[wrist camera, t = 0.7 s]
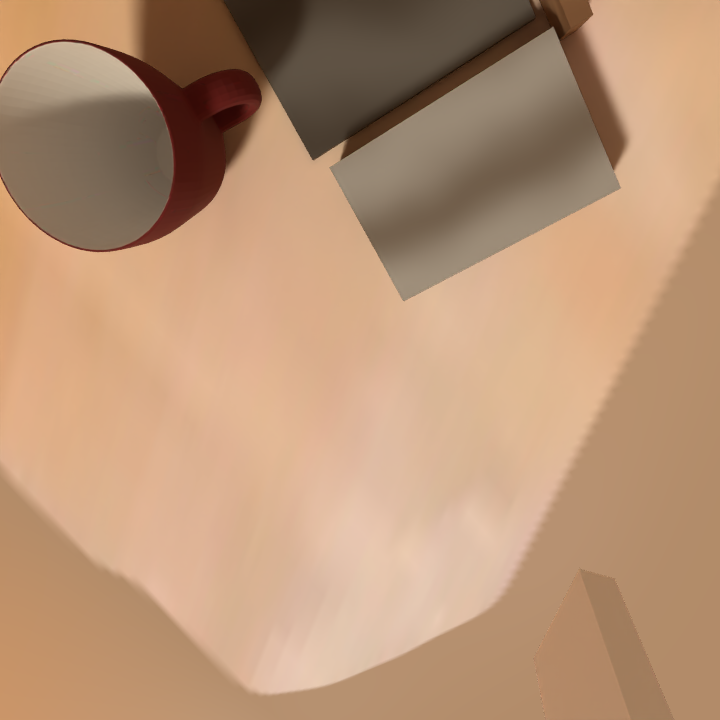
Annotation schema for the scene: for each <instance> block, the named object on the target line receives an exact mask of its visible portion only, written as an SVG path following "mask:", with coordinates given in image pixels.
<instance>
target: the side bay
mask: <svg viewBox="0 0 720 720" xmlns="http://www.w3.org/2000/svg"><path fill="white" fill-rule="evenodd" d="M224 2H225V4H226V5H227V7H228V9H229V11H230V13H231V14H232V16H233V18H234V20H235V22H236V23H237V25H238V27H239V29H240V31H241V32H242V34H243V36H244V38H245V40H246V41H247V43H248V45H249V47H250V48H251V50H252V52H253V54H254V56H255V57H256V59H257V61H258V63H259V65H260V66H261V68H262V70H263V72H264V74H265V75H266V77H267V79H268V81H269V83H270V84H271V86H272V88H273V90H274V91H275V93H276V95H277V97H278V99H279V100H280V102H281V104H282V106H283V108H284V109H285V111H286V113H287V115H288V117H289V118H290V120H291V122H292V124H293V126H294V127H295V129H296V131H297V133H298V135H299V136H300V138H301V140H302V142H303V143H304V145H305V147H306V149H307V151H308V152H309V154H310V156H311V158H312V160H315V159H316V158H318V157H320V156H321V155H323V154H324V153H326V152H327V151H329V150H330V149H332V148H334V147H335V146H337V145H338V144H340V143H341V142H343V141H345V140H346V139H348V138H349V137H351V136H352V135H354V134H355V133H357V132H359V131H360V130H362V129H363V128H365V127H366V126H368V125H370V124H371V123H373V122H374V121H376V120H377V119H379V118H380V117H382V116H384V115H385V114H387V113H388V112H390V111H391V110H393V109H395V108H396V107H398V106H399V105H401V104H402V103H404V102H405V101H407V100H409V99H410V98H412V97H413V96H415V95H416V94H418V93H420V92H421V91H423V90H424V89H426V88H427V87H429V86H430V85H432V84H434V83H435V82H437V81H438V80H440V79H441V78H443V77H445V76H446V75H448V74H449V73H451V72H452V71H454V70H455V69H457V68H459V67H460V66H462V65H463V64H465V63H466V62H468V61H470V60H471V59H473V58H474V57H476V56H477V55H479V54H480V53H482V52H484V51H485V50H487V49H488V48H490V47H491V46H493V45H495V44H496V43H498V42H499V41H501V40H502V39H504V38H505V37H507V36H509V35H510V34H512V33H513V32H515V31H516V30H518V29H519V28H521V27H523V26H524V25H526V24H527V23H529V22H530V21H532V20H534V19H535V18H536V16H535V14H534V11H533V9H532V7H531V4H530V2H529V0H224ZM540 2H541V5H542V7H543V10H544V12H545V14H546V17H547V19H548V21H549V24H550V26H551V28H550V29H549V30H547V31H546V32H544V33H542V34H541V35H539V36H538V37H536V38H534V39H533V40H531V41H530V42H528V43H527V44H525V45H523V46H522V47H520V48H519V49H517V50H515V51H514V52H512V53H511V54H509V55H507V56H506V57H504V58H503V59H501V60H500V61H498V62H496V63H495V64H493V65H492V66H490V67H488V68H487V69H485V70H484V71H482V72H480V73H479V74H477V75H476V76H474V77H473V78H471V79H469V80H468V81H466V82H465V83H463V84H461V85H460V86H458V87H457V88H455V89H453V90H452V91H450V92H449V93H447V94H445V95H444V96H442V97H441V98H439V99H438V100H436V101H434V102H433V103H431V104H430V105H428V106H426V107H425V108H423V109H422V110H420V111H418V112H417V113H415V114H414V115H412V116H411V117H409V118H407V119H406V120H404V121H403V122H401V123H399V124H398V125H396V126H395V127H393V128H391V129H390V130H388V131H387V132H385V133H384V134H382V135H380V136H379V137H377V138H376V139H374V140H372V141H371V142H369V143H368V144H366V145H364V146H363V147H361V148H360V149H358V150H357V151H355V152H353V153H352V154H350V155H349V156H347V157H345V158H344V159H342V160H341V161H339V162H337V163H336V164H334V165H333V166H331V167H330V169H331V171H332V173H333V175H334V176H335V178H336V180H337V182H338V184H339V186H340V187H341V189H342V191H343V193H344V195H345V196H346V198H347V200H348V202H349V204H350V205H351V207H352V209H353V211H354V213H355V214H356V216H357V218H358V220H359V222H360V224H361V225H362V227H363V229H364V231H365V233H366V234H367V236H368V238H369V240H370V242H371V243H372V245H373V247H374V249H375V251H376V253H377V254H378V256H379V258H380V260H381V262H382V263H383V265H384V267H385V269H386V271H387V272H388V274H389V276H390V278H391V280H392V282H393V283H394V285H395V287H396V289H397V291H398V292H399V294H400V296H401V298H402V300H403V301H405V300H407V299H409V298H411V297H413V296H415V295H417V294H419V293H421V292H423V291H424V290H426V289H428V288H430V287H432V286H434V285H436V284H438V283H440V282H442V281H444V280H446V279H448V278H449V277H451V276H453V275H455V274H457V273H459V272H461V271H463V270H465V269H467V268H469V267H471V266H473V265H474V264H476V263H478V262H480V261H482V260H484V259H486V258H488V257H490V256H492V255H494V254H496V253H497V252H499V251H501V250H503V249H505V248H507V247H509V246H511V245H513V244H515V243H517V242H519V241H521V240H522V239H524V238H526V237H528V236H530V235H532V234H534V233H536V232H538V231H540V230H542V229H544V228H545V227H547V226H549V225H551V224H553V223H555V222H557V221H559V220H561V219H563V218H565V217H567V216H569V215H570V214H572V213H574V212H576V211H578V210H580V209H582V208H584V207H586V206H588V205H590V204H592V203H593V202H595V201H597V200H599V199H601V198H603V197H605V196H607V195H609V194H611V193H613V192H615V191H617V190H618V189H620V188H621V187H620V185H619V182H618V180H617V178H616V175H615V173H614V171H613V168H612V166H611V163H610V161H609V159H608V156H607V154H606V151H605V149H604V147H603V144H602V142H601V139H600V137H599V135H598V132H597V130H596V127H595V125H594V123H593V120H592V118H591V116H590V113H589V111H588V108H587V106H586V104H585V101H584V99H583V96H582V94H581V92H580V89H579V87H578V84H577V82H576V80H575V77H574V75H573V72H572V70H571V68H570V65H569V63H568V61H567V58H566V56H565V53H564V51H563V49H562V46H561V44H560V40H562V39H564V38H565V37H567V36H568V35H570V34H572V33H573V32H575V31H576V30H578V29H579V28H580V27H581V26H582V25H583V24H584V23H585V22H586V21H587V20H588V19H589V18H590V17H591V16H592V15H593V13H592V10H591V8H590V5H589V3H588V0H540Z"/></svg>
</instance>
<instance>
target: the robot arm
mask: <svg viewBox="0 0 720 720" xmlns="http://www.w3.org/2000/svg"><path fill="white" fill-rule="evenodd" d="M534 663H535V668H536V673H537V678H538V684H539V689H540V694H541V699H542V704H543V709H544V714H545V720H674V719H673V716H672V714H671V712H670V709H669V707H668V704H667V702H666V700H665V697H664V695H663V692H662V690H661V688H660V685H659V683H658V681H657V678H656V676H655V673H654V671H653V669H652V666H651V664H650V661H649V659H648V657H647V655H646V652H645V650H644V647H643V645H642V642H641V640H640V638H639V635H638V633H637V631H636V628H635V626H634V624H633V621H632V619H631V616H630V614H629V612H628V609H627V607H626V604H625V602H624V600H623V597H622V595H621V592H620V590H619V588H618V585H617V583H616V581H615V579H614V578H610V577H607V576H603V575H599V574H596V573H593V572H589V571H585V570H582V569H579V570H578V572H577V574H576V576H575V578H574V580H573V582H572V584H571V586H570V588H569V590H568V592H567V593H566V596H565V597H564V599H563V601H562V603H561V605H560V607H559V609H558V611H557V613H556V615H555V617H554V619H553V621H552V623H551V625H550V627H549V629H548V631H547V633H546V635H545V637H544V639H543V641H542V643H541V645H540V647H539V649H538V651H537V653H536V655H535V657H534Z"/></svg>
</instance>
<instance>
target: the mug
mask: <svg viewBox="0 0 720 720" xmlns="http://www.w3.org/2000/svg"><path fill="white" fill-rule="evenodd" d="M261 101H262V97H261V91H260V89H259V86H258V84H257V82H256V81H255V79H254V78H253V77H252V76H251V75H250V74H249V73H248V72H246V71H243V70H238V69H230V70H224V71H220V72H216V73H213V74H210V75H207V76H205V77H203V78H200V79H199V80H197V81H195V82H193V83H191V84H190V85H188V86H187V87H185V88H183V89H182V88H180V87H179V86H178V85H176V84H175V83H174V82H173V81H171V80H170V79H169V78H167V77H166V76H165V75H163V74H162V73H161V72H159V71H158V70H156V69H155V68H153V67H151V66H150V65H148V64H146V63H144V62H143V61H141V60H139V59H137V58H134V57H132V56H130V55H127V54H125V53H122V52H119V51H116V50H113V49H110V48H107V47H103V46H100V45H96V44H93V43H89V42H85V41H79V40H65V39H62V40H53V41H48V42H44V43H41V44H39V45H36V46H34V47H32V48H30V49H28V50H27V51H25V52H24V53H23V54H21V55H20V56H19V57H18V58H17V59H15V60H14V61H13V62H12V64H11V65H10V66H9V67H8V68H7V70H6V71H5V73H4V74H3V76H2V78H1V80H0V177H1V179H2V181H3V183H4V185H5V187H6V189H7V191H8V193H9V194H10V196H11V197H12V199H13V201H14V202H15V203H16V205H17V206H18V207H19V209H20V210H21V211H22V212H23V213H24V215H25V216H26V217H27V218H28V219H29V220H30V221H31V222H32V223H33V224H34V225H36V226H37V227H38V228H39V229H40V230H42V231H43V232H44V233H46V234H47V235H49V236H50V237H52V238H54V239H55V240H57V241H59V242H61V243H63V244H65V245H68V246H70V247H73V248H77V249H80V250H85V251H92V252H110V251H117V250H122V249H126V248H131V247H135V246H139V245H142V244H146V243H149V242H152V241H154V240H157V239H159V238H162V237H163V236H165V235H167V234H169V233H171V232H172V231H174V230H175V229H177V228H178V227H180V226H181V225H182V224H184V223H185V222H186V221H188V220H189V219H190V218H192V217H193V216H195V215H196V214H197V213H199V212H200V211H201V210H202V209H204V208H205V207H206V206H207V205H208V204H209V203H210V202H211V201H212V199H213V198H214V197H215V195H216V194H217V192H218V190H219V188H220V186H221V184H222V181H223V178H224V173H225V165H226V155H225V146H224V139H223V132H225V131H226V130H228V129H230V128H232V127H234V126H235V125H237V124H239V123H241V122H243V121H244V120H246V119H247V118H249V117H250V116H251V115H253V114H254V113H255V112H256V111H257V110H258V108H259V107H260V104H261Z"/></svg>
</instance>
